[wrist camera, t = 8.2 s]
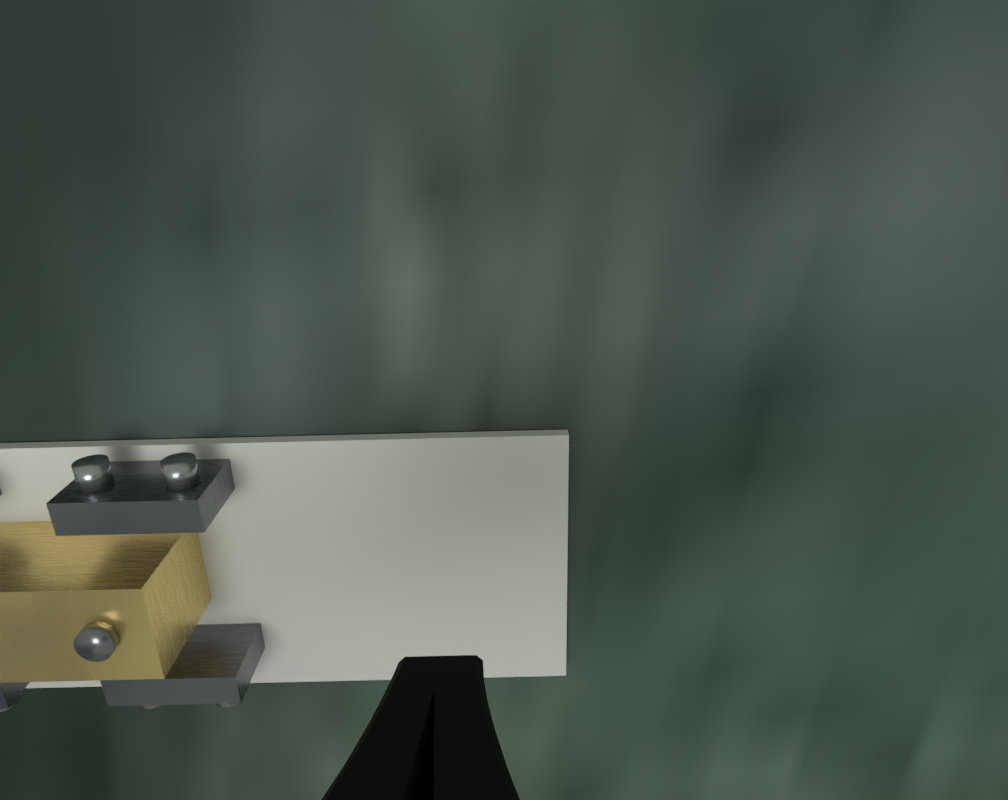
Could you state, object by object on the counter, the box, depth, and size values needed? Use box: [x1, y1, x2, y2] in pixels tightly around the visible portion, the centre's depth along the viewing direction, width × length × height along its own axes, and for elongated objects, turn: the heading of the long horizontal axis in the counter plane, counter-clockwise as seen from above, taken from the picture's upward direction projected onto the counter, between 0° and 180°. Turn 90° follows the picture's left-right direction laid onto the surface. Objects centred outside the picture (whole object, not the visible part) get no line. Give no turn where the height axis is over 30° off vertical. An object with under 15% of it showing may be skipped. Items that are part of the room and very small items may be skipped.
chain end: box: [46, 452, 265, 709], centre depth 21 cm, size 8×4×2 cm, turn 1°
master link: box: [0, 521, 212, 683], centre depth 20 cm, size 3×8×4 cm, turn 91°
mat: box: [0, 429, 569, 688], centre depth 23 cm, size 9×23×1 cm, turn 91°
